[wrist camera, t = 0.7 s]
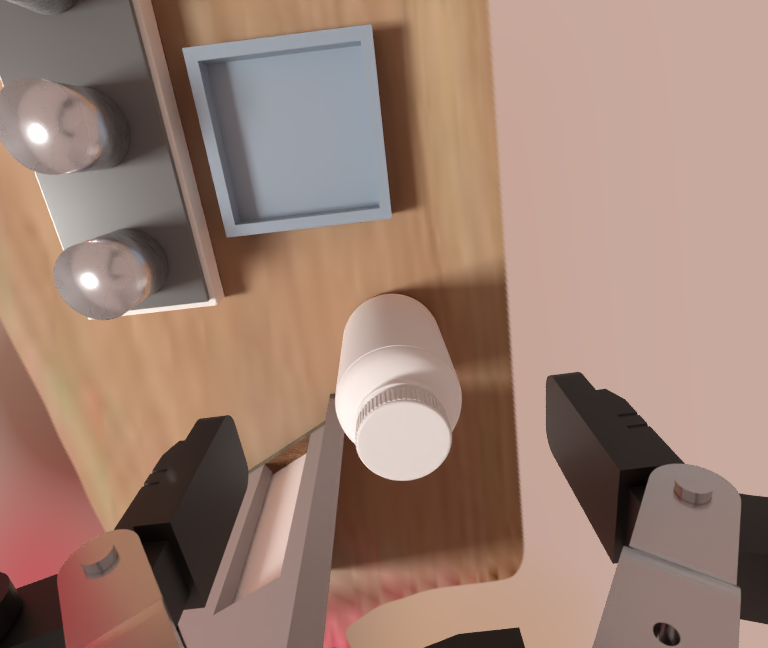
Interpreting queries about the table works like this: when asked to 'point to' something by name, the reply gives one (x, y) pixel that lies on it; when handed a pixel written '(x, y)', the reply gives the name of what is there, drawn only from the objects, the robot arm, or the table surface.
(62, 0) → the cylinder
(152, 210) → the scale
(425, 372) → the pill bottle
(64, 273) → the cylinder
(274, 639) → the cabinet
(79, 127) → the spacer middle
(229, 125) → the tray
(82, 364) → the table surface
